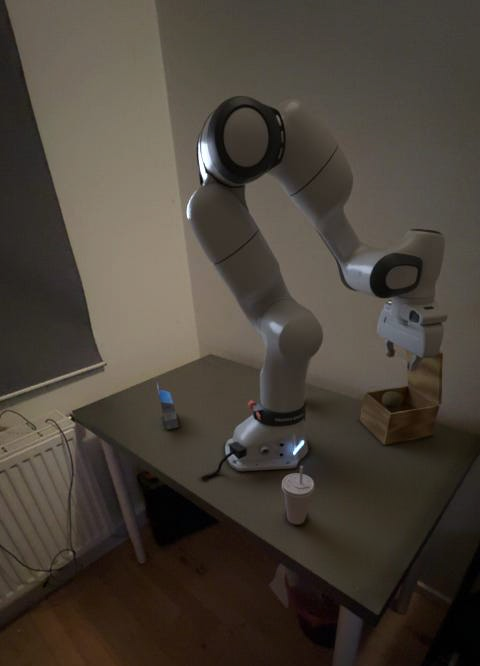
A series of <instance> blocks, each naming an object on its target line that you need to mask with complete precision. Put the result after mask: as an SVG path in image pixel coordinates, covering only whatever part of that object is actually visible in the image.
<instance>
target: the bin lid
mask: <svg viewBox="0 0 480 666" xmlns="http://www.w3.org/2000/svg"><path fill="white" fill-rule="evenodd" d="M412 355H413V353H411V352H409V351H407V350H406V371H407V372H406V373H407V374H406V376H407V386H410V387H412V388H413V389H415V390H416V391H418V392H419V393H421V394H422V395H424V396H425V397H427V398H428V399H430V400H431V401H433V402H434V403H436V404H437V405H439V406H440V405H442V403H443V400H442V399H443V397H442V396H443V365H444V363H443V362H444V361H443V360H444V358H443V357H444V354H443V351H440V350H439V353H438V354H437V355H436V356H435V357H431V358H423V359H422V360H421V361H420V362H419V363H418V367H417V369H416V370H414V371H411V370H410V369H408V368H407V366H408V362H411V361H412V360H413V357H412Z"/></svg>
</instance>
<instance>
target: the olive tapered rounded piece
mask: <svg viewBox="0 0 480 666" xmlns="http://www.w3.org/2000/svg"><path fill="white" fill-rule="evenodd" d="M402 401H403V397H402V395H401V394H400V393H398V392H394V391H389V392H386V393H385V394H384V395H383V397H382V403H383V406H384V407H385V408H386V409H387V410H389V411H390V412H391V413H394V412H399V406H400V405H401V403H402Z"/></svg>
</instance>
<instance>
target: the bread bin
mask: <svg viewBox="0 0 480 666" xmlns="http://www.w3.org/2000/svg"><path fill="white" fill-rule="evenodd" d="M389 391H394V392H398V393H400V394H401V395H402V397H403V401H402V403H401V405H400V406H399V412H394V413H391V412H390V411H389V410H387V409H386V408H385V407H384V406H383V403H382V397H383V395H384V394H385V393H386V392H389ZM440 407H441V406H440V405H438V404H437V403H435V402H434V401H432V400H431V399H429V398H428V397H426V396H425V395H423V394H421V393H420V392H418V391H417V390H415V389H414V388H412V387H411V386H409V385H403V386H396V387H391V388H383V389H376V390H371V391H364V392H363V397H362V405H361V412H360V416H359V417H360V418H359V421H360V423H362V425H363V426H364V427H366V428H367V429H368V431H370V432H371V434H373V435H374V436H375V438H377V439H378V440H379V442H381V443H382V444H383V445H385V446H387V445H392V444H397V443H402V442H409V441H414V440H418V439H424V438H430V437H432V434H433V431H434V427H435V425H436V420H437V417H438V413H439V410H440Z"/></svg>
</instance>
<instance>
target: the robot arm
mask: <svg viewBox="0 0 480 666" xmlns="http://www.w3.org/2000/svg"><path fill="white" fill-rule="evenodd" d="M196 162H197V169H198V178H199V184H200V186H199V187H198V188H197V189H196V190H195V191H194V192H193V194H192V195H191V197H190V199H189V200H188V203H187V207H186V217H187V220H188V223H189V225H190V227H191V230H192V232H193V234H194V236H195V238H196V240H197V242H198V244H199V246H200V247H201V250H202V251H203V253H204V255H205V256H206V258H207V259H208V261H209V262H210V264H211V266H212V267H213V268H214V270H215V271H216V272H217V274H218V276H219V277H220V279H221V280H222V281H223V283H224V285H225V286H226V287H227V289H228V291H229V292H230V293H231V296H232V297H233V298H234V300H235V301H236V303H237V305H238V306H239V308H240V309H241V311H242V312H243V314H244V316H245V317H246V319H247V320H248V322H249V323H250V325H251V327H252V328H253V330H254V331H255V333H256V334H257V335H258V337H260V339H261V340H262V341H263V344H264V347H265V348H264V349H265V355H264V361H263V366H262V368H261V370H260V372H259V396H260V397H259V398H260V399H259V400H258V402H257V403H256V401H255V400H254V399H250V400H248V402H247V406H248V408H249V409H250V410H251V411H252V415H250V416H249V417H247V418H246V419H245V420H243V421H242V422H241V423H240V424H238V425H236V427H235V428H234V431H233V436H232V437H231V438H229V439H227V440H226V443H225V446H224V454H225V456H224V457H223V458H222V459H221V460H220V461H219V464H218V467H217V469H216V470H215V471H214V472H212V473H209V474H208V473H207V474H205V475H202V476H201V480H205V479H208V478H212V477H215V476H216V475H217V474H219V473H220V472H221V470H222V466H223V465H224V463H225V461H227V462H228V464H229V465H230V466H231V468H233V469H234V470H236V471H238V472H248V471H249V472H250V471H251V472H252V471H269V470H272V471H273V470H286V469H288V470H290V469H295V468H297V467H298V465H299V462H300V461H301V460H302V459H303V458H304V457H305V456H306V455H307V454H308V451H309V445H308V442H307V437H306V431H305V430H306V429H305V421H306V416H307V402H306V399H305V398H306V385H307V374H308V369H309V367H310V363H311V360H312V358H313V357H314V356H315V355H316V354H317V353H318V351H319V350H320V349H321V347H322V344H323V341H324V330H323V327H322V324H321V323H320V321H319V320H318V318H317V317H316V316H315V314H314V312H312V311H311V310H310V309H308V308H307V307H305V306H304V305H302V304H301V303H299V302H297V301H296V300H295V298H294V297H293V296H292V295H291V293H290V291H289V290H288V288H287V285H286V282H285V280H284V278H283V275H282V272H281V267H280V264H279V262H278V260H277V258H276V256H275V255H274V252H273V250H272V249H271V247H270V245H269V244H268V242H267V240H266V238H265V237H264V234H263V233H262V231H261V230H260V229H261V228H259V226H258V224H257V223H256V221H255V219H254V217H253V216H252V214H251V213H250V210H249V207H248V205H247V204H248V203H247V200H246V185H249V184H250V183H252V182H255V181H256V180H258V179H261V177H263V176H264V175H265V174H268V175H270V176H271V177H272V178H273V179H274V180H276V181H277V182H278V184H279V185H280V186H281V188H282V189H283V191H284V192H285V193H286V195H287V196H288V198H289V199H290V200H291V202H292V203H293V204H294V205H295V206H296V207H297V209H298V210H299V211H300V212H301V213H302V215H303V216H304V217H305V218H306V219H307V220H308V221H309V223H310V224H311V225H312V226H313V228H314V229H315V230H316V232H317V234H318V236H319V237H320V238H321V240H322V242H323V243H324V245H325V246H326V248H327V249H328V251H329V252H330V254H331V255H332V257H334V261H335V262H336V265H337V269H338V274H339V278H340V281H341V283H342V284H343V286H344V287H345V288H346V289H348V290H349V291H354V292H359V293H362V294H364V295H368V296H371V297H373V298H377V299H389V300H387V301H386V302H385V303H384V304H383V309H382V310H381V312H380V314H379V318H378V322H377V328H376V334H377V336H379V337H381V338H383V339H384V346H385V347H384V348H385V356H386V357H388V358H394V357H395V356H396V355H395V353H396V349H395V348H394V347H395V346H394V345H396V346H398V347H400V348H402V349H404V350H407V351H409V352H411V353H413V355H412V357H413V360H412V361H411V362H408V366H407V365H406V369H407V368H408V369H410V370H411V371H414V370H416V369H417V367H418V363H419V362H420V361H421V360H422V359H423V358H431V357H435V356H436V355H437V354H438V353H439V351H440V350H441V346H442V343H443V338H444V333H445V327H444V324H443V323H445V322H447V320H448V317H449V313H448V312H447V310H445V309H444V308H443V307H442V306H441V305H440V304H439V303H438V302H437V300H435V297H436V284H437V280H439V277H440V275H441V271H442V267H443V261H444V257H445V246H446V245H445V243H446V241H445V236H444V234H443V233H442V232H441V231H439V230H434V229H424V228H411V229H409V230H407V231H406V233H405V234H404V235H403V236H402V237H401V238H400V239H399V240H397V241H395V242H394V243H393V244H391V245H389V246H387V247H384V248H379V247H373V246H370V245H368V244H366V243H364V242H363V241H361V240H360V238H359V236H358V235H357V233H356V232H355V230H354V228H353V227H352V224H351V223H350V221H349V219H348V218H347V216H346V214H345V210H344V208H345V206H346V204H347V203H348V201H349V199H350V197H351V195H352V194H351V193H352V190H353V187H354V186H353V185H354V175H353V172H352V170H351V167H350V164H349V161H348V159H347V157H346V155H345V154H344V152H343V150H342V148H341V146H340V145H339V144H338V142H337V140H336V139H335V137H334V136H333V135H332V133H331V132H330V130H329V129H328V127H327V126H326V125H325V124H324V122H323V121H322V120H321V118H319V116H318V115H317V114H316V113H315V112H314V111H313V109H311V107H310V106H308V104H306V102H304V101H303V99H300V98H297V97H291V98H288V99H286V100H283V101H281V102H280V103H278V104H277V105H276V106H275V107H272V106H271V105H267V104H264V103H263V102H262V101H259V100H257V99H255V98H253V97H251V96H247V95H236V96H231V97H229V98H227V99H225V100H224V101H223V102H221V103H220V104H219V105H218V106H217V107H216V108H215V109H214V110H213V111H212V112H211V113H209V115H208V116H207V118H206V119H205V121H204V123H203V125H202V127H201V130H200V132H199V134H198V138H197V142H196ZM391 298H392V299H391ZM407 351H406V352H407Z"/></svg>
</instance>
